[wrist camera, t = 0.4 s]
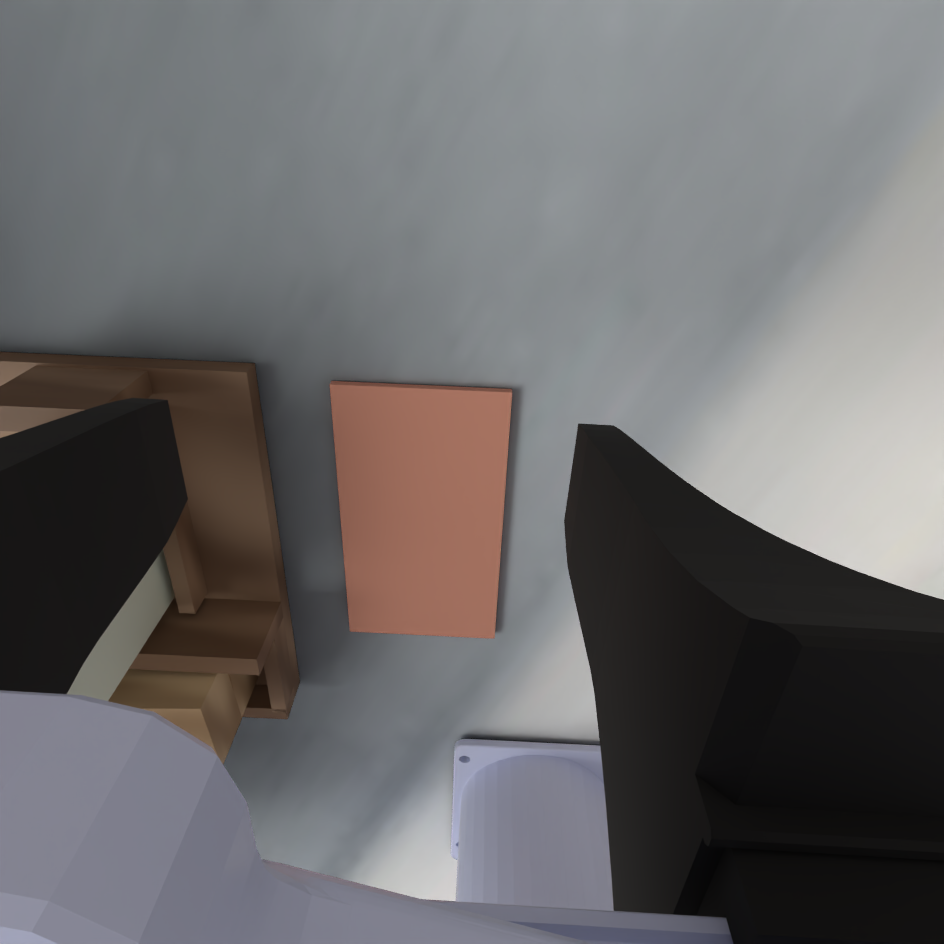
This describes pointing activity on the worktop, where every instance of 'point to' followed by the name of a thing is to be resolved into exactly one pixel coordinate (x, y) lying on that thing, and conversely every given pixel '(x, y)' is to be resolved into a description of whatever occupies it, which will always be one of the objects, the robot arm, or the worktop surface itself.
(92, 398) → the rack
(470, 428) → the mat
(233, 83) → the worktop surface
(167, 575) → the panel
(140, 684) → the offcut upper
